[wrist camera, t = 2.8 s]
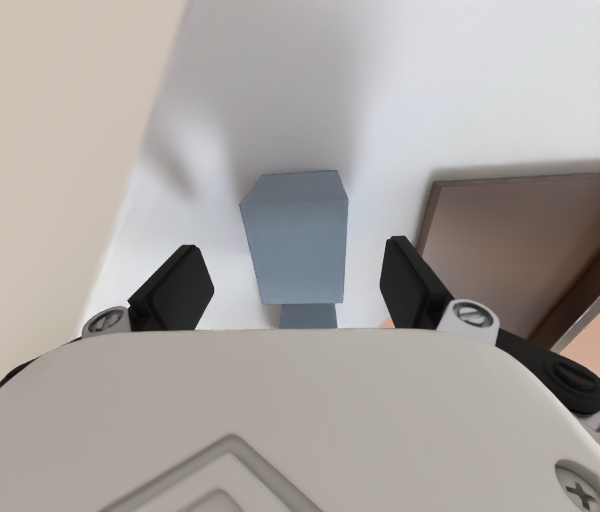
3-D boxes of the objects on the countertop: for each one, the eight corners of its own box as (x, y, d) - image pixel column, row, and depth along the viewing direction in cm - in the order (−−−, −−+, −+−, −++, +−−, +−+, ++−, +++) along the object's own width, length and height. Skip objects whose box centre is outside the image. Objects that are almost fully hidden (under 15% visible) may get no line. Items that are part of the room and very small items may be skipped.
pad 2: (282, 302, 20) (274, 355, 15) (334, 302, 19) (340, 355, 15) (289, 343, 23) (283, 395, 19) (333, 344, 22) (338, 397, 18)
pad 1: (261, 175, 14) (238, 204, 9) (337, 170, 13) (348, 198, 9) (275, 256, 17) (262, 304, 13) (335, 254, 16) (343, 303, 12)
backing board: (433, 181, 13) (455, 195, 11) (660, 168, 12) (731, 181, 10) (388, 355, 23) (395, 380, 21) (511, 356, 22) (531, 382, 20)
